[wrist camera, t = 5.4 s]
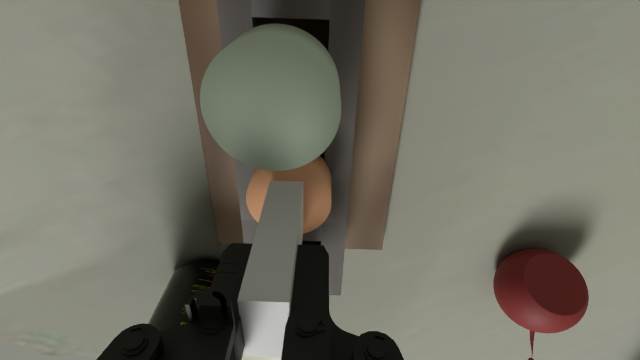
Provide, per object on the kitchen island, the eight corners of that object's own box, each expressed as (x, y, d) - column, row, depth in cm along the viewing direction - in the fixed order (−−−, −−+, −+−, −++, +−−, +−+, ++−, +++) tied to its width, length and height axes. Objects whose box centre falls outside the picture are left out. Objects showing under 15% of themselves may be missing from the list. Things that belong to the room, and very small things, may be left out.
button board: (221, 235, 28) (200, 290, 23) (181, -30, 19) (130, -26, 14) (380, 241, 28) (390, 297, 23) (420, -22, 19) (450, -16, 14)
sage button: (250, 100, 17) (210, 168, 11) (242, 5, 15) (189, 32, 9) (334, 102, 17) (337, 173, 11) (339, 8, 15) (345, 37, 9)
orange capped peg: (268, 168, 23) (249, 233, 18) (265, 110, 21) (242, 163, 16) (329, 170, 23) (329, 236, 18) (332, 112, 21) (333, 166, 16)
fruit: (472, 261, 32) (490, 362, 28) (503, 240, 27) (529, 359, 23) (541, 264, 32) (568, 365, 28) (585, 243, 27) (624, 363, 23)
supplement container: (171, 248, 29) (102, 375, 20) (254, 260, 29) (222, 389, 21) (174, 302, 32) (115, 430, 24) (247, 312, 33) (217, 442, 24)
